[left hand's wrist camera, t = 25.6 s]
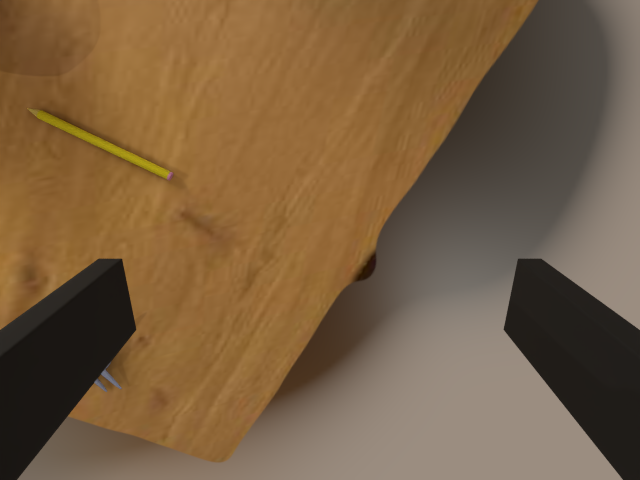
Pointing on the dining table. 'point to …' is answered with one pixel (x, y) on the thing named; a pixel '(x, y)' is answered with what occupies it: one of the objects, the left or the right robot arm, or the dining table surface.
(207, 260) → the dining table surface
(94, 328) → the left robot arm
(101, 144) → the pencil
